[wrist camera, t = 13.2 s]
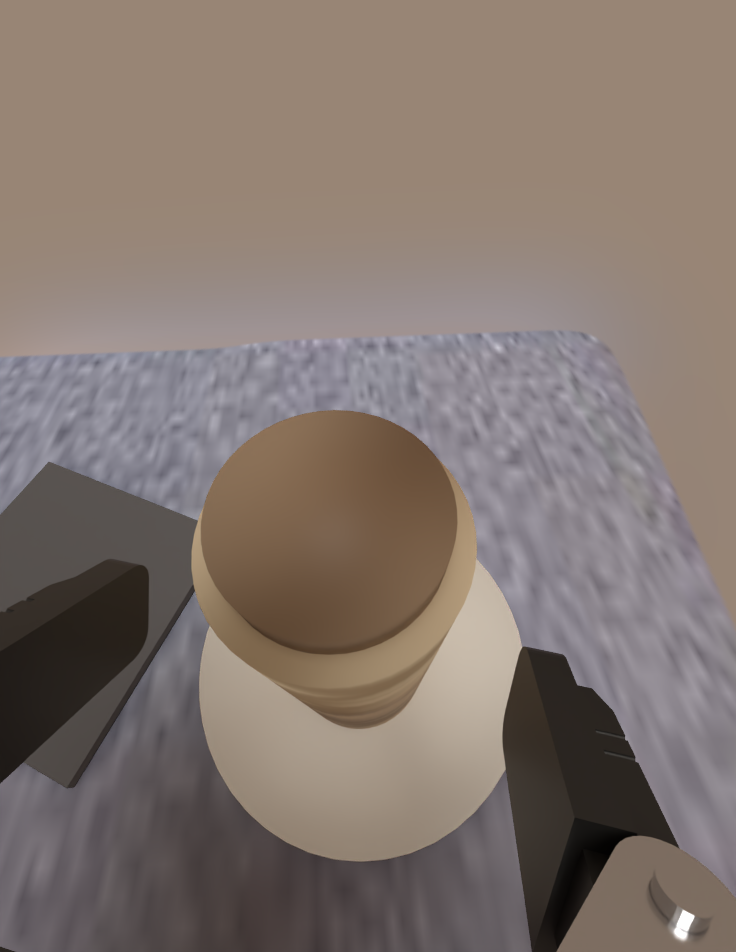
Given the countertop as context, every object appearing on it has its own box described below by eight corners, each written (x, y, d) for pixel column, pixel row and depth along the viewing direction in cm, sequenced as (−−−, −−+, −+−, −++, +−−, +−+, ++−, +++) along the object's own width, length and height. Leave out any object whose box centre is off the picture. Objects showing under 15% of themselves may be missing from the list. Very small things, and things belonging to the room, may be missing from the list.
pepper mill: (274, 694, 19) (101, 593, 7) (329, 579, 22) (268, 362, 10) (395, 753, 18) (427, 746, 6) (438, 623, 21) (520, 438, 9)
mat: (-128, 668, 21) (-138, 666, 21) (54, 466, 27) (48, 461, 27) (73, 787, 19) (66, 787, 18) (228, 535, 24) (225, 531, 24)
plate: (143, 756, 19) (130, 756, 18) (296, 487, 26) (292, 476, 25) (468, 934, 16) (474, 946, 15) (547, 576, 23) (554, 568, 22)
